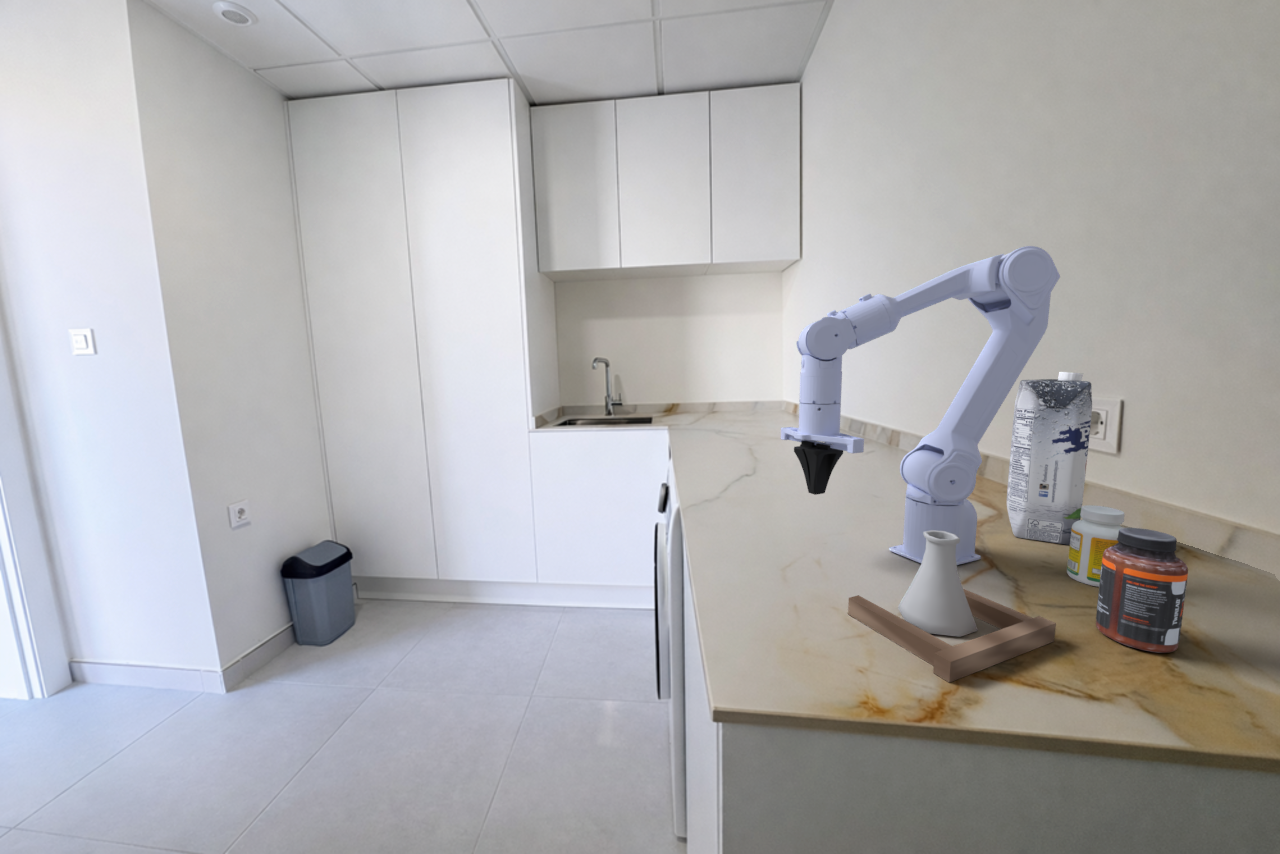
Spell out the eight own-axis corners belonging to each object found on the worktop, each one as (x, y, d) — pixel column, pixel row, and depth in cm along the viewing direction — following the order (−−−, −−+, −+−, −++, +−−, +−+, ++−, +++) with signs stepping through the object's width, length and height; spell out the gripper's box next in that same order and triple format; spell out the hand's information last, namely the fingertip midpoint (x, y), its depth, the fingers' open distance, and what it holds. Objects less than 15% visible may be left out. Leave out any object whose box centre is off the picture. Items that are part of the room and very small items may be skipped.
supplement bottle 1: (1057, 575, 63) (1064, 506, 62) (1081, 568, 65) (1088, 501, 64) (1108, 592, 58) (1116, 518, 57) (1133, 585, 60) (1141, 512, 59)
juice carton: (1007, 538, 77) (1021, 372, 73) (1003, 520, 85) (1016, 371, 82) (1081, 549, 72) (1099, 372, 68) (1069, 529, 80) (1085, 371, 77)
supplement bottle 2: (1196, 660, 45) (1212, 546, 43) (1119, 651, 46) (1132, 541, 45) (1148, 627, 50) (1161, 526, 49) (1081, 620, 52) (1091, 521, 51)
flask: (992, 637, 49) (1000, 545, 48) (926, 641, 49) (932, 548, 47) (943, 603, 56) (949, 522, 55) (885, 606, 56) (889, 525, 55)
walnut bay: (937, 589, 60) (938, 574, 59) (1054, 641, 48) (1056, 622, 48) (841, 616, 54) (842, 599, 53) (949, 682, 42) (950, 662, 42)
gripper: (766, 401, 74) (764, 485, 76) (838, 407, 61) (833, 509, 62) (801, 399, 77) (798, 480, 78) (877, 405, 64) (872, 502, 65)
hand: (816, 492), depth 71 cm, fingers closed
